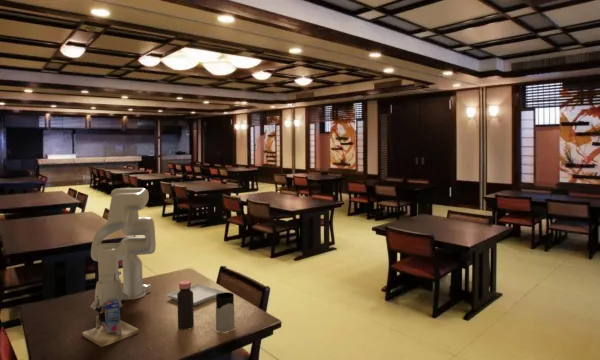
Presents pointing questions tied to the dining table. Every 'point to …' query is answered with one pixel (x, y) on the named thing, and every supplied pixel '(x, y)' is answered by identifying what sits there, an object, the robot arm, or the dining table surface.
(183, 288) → the bottle
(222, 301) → the glass holder
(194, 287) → the salad plate
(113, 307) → the ink cartridge box
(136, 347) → the dining table surface
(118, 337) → the pin board
